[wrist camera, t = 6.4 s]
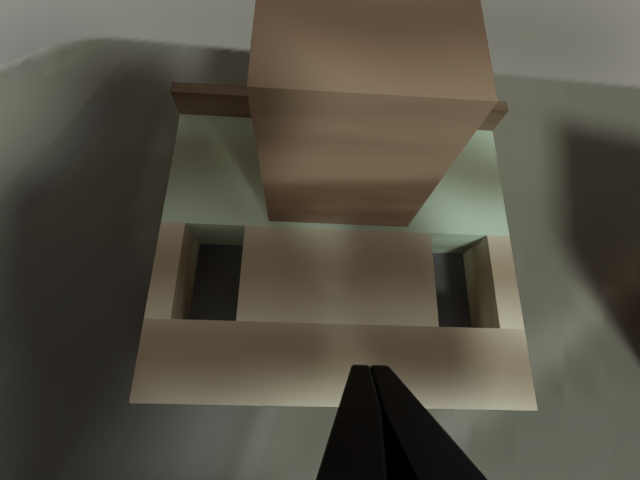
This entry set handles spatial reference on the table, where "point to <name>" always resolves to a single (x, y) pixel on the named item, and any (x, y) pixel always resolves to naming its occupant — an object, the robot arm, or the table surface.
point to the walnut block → (364, 104)
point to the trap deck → (325, 283)
